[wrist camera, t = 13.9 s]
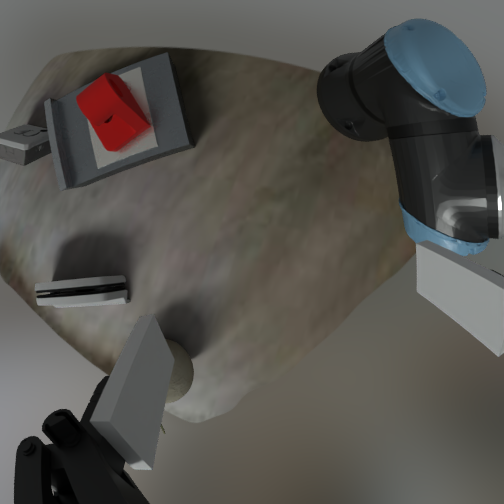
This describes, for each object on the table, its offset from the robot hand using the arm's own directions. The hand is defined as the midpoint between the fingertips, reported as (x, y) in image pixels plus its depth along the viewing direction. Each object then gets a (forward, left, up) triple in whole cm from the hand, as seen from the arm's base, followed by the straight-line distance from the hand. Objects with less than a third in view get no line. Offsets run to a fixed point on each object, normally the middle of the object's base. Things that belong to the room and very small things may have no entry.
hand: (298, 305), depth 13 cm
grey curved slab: (+31, +5, -32) cm, 45 cm away
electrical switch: (+32, -22, -32) cm, 50 cm away
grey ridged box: (+15, -18, -32) cm, 39 cm away
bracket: (+14, -18, -26) cm, 34 cm away
